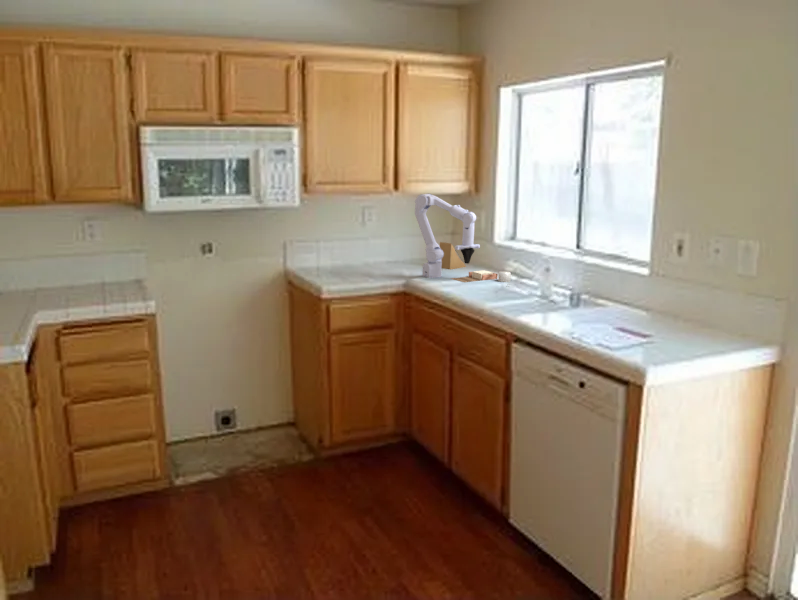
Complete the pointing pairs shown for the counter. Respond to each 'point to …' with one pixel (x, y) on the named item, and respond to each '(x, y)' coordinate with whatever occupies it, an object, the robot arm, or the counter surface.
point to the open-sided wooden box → (471, 279)
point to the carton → (480, 274)
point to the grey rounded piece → (504, 276)
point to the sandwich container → (450, 257)
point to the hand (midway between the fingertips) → (466, 263)
